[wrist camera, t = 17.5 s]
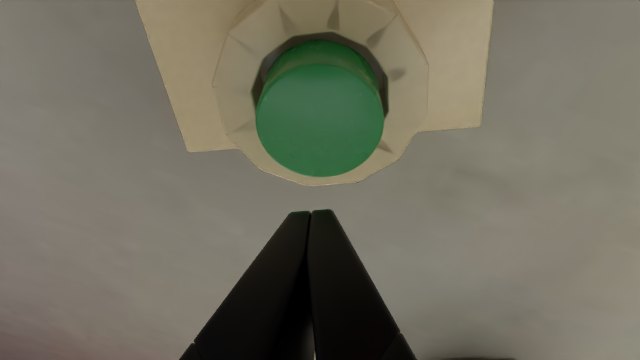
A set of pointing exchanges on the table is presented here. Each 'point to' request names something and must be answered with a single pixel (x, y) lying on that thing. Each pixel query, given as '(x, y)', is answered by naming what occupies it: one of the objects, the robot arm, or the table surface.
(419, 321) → the table surface
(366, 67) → the button
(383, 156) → the console
